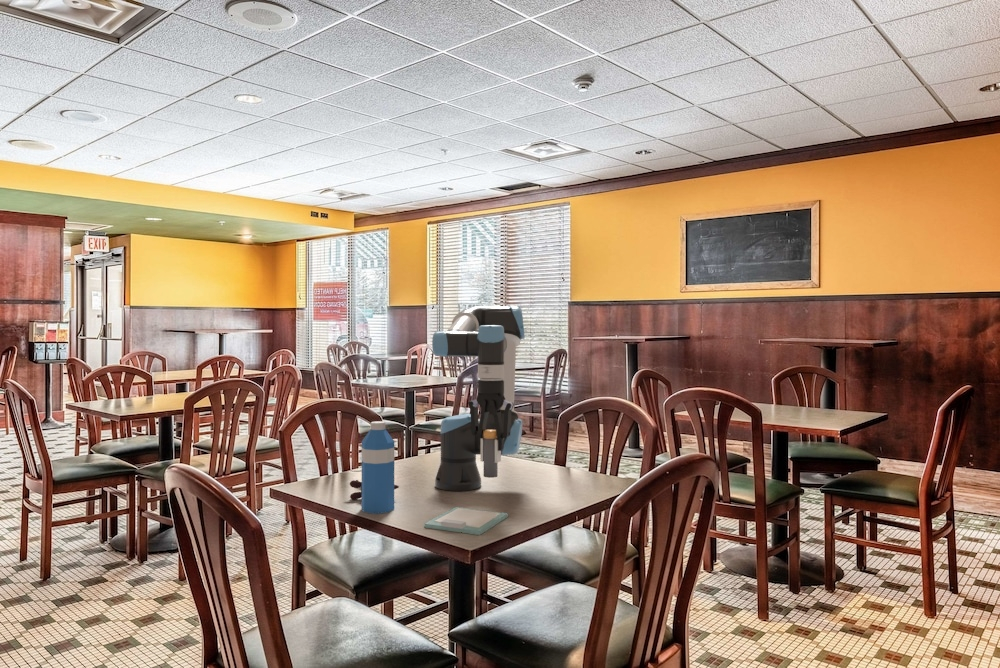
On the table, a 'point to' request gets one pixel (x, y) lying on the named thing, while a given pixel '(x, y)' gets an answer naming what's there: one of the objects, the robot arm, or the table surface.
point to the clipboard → (466, 520)
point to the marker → (490, 454)
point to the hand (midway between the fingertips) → (490, 461)
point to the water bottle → (377, 470)
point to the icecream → (359, 484)
